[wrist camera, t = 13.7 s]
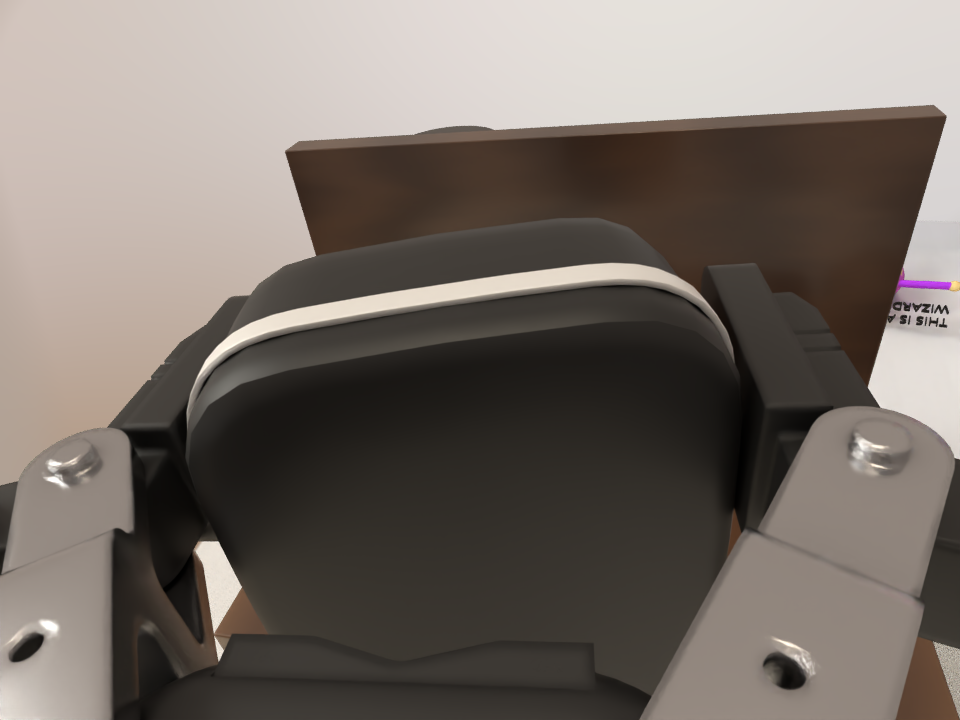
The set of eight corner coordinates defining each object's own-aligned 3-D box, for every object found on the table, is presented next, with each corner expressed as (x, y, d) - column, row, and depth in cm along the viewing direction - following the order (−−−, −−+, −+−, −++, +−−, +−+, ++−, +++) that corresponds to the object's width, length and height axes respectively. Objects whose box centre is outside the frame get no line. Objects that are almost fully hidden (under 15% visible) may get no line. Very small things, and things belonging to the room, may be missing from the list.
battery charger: (650, 616, 16) (667, 165, 9) (707, 784, 13) (789, 280, 6) (375, 656, 16) (207, 235, 10) (364, 833, 13) (101, 385, 6)
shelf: (297, 766, 27) (18, 338, 14) (404, 512, 38) (298, 141, 25) (880, 898, 21) (1266, 384, 9) (808, 554, 32) (934, 104, 20)
